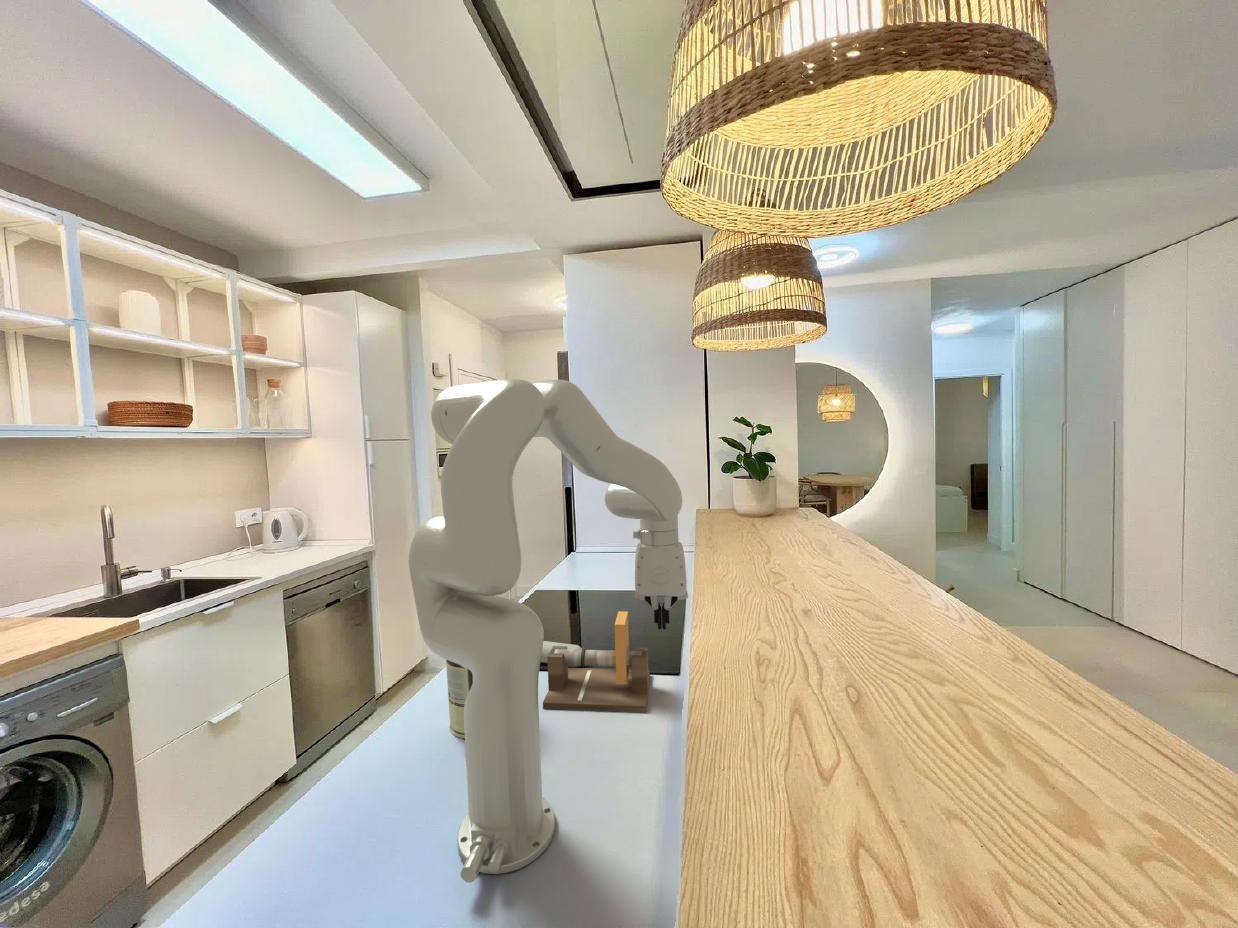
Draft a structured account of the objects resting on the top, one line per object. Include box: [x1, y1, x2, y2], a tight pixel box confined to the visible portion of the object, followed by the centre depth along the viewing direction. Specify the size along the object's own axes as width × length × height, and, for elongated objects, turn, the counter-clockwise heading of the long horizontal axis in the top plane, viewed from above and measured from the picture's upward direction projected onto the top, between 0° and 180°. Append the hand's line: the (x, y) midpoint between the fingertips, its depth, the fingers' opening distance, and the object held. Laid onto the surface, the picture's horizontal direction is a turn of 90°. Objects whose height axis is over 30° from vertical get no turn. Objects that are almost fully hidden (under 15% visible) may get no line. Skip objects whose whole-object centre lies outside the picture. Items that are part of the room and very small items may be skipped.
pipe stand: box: [542, 646, 650, 713], centre depth 99 cm, size 14×20×9 cm
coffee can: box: [445, 659, 473, 739], centre depth 89 cm, size 10×10×14 cm
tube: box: [540, 640, 583, 668], centre depth 114 cm, size 5×5×25 cm
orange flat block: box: [614, 610, 630, 684], centre depth 98 cm, size 7×2×12 cm, turn 174°
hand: (662, 626), depth 97 cm, fingers closed
